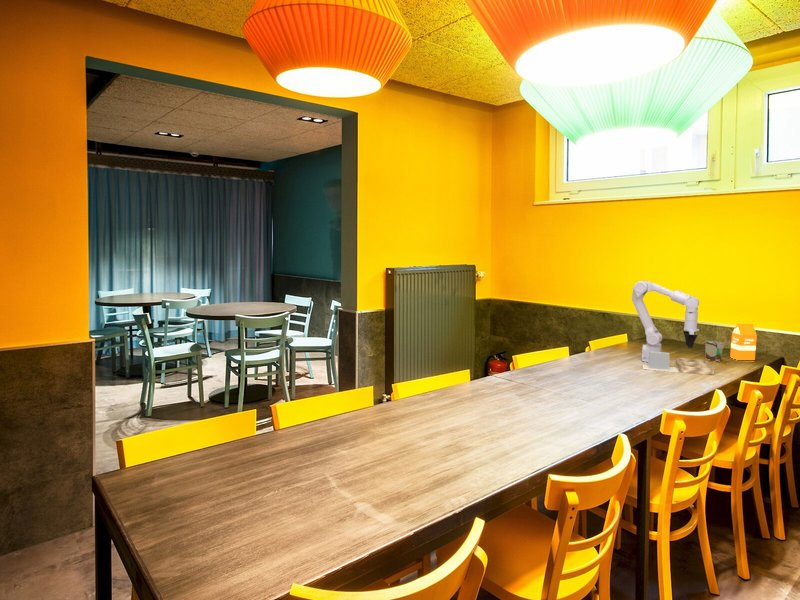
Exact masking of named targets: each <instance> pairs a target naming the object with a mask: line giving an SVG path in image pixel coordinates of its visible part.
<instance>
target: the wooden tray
mask: <svg viewBox="0 0 800 600" xmlns="http://www.w3.org/2000/svg"><path fill="white" fill-rule="evenodd" d="M689 362H700V363H701V367H702V368H700V367H688V366H689ZM676 364H677V365H676ZM675 365H676V366H678V367H677V369H678V368H679V369H678V371H679V372H680V373H682V372H684V373H685V374H694V373H695V374H696V375H705V374H714V373H715V369H714V367H713V366H712V365H711V364H710V362H709V360H707V359H700V358H699V359H695V358H685V357H675ZM714 375H715V374H714Z"/></svg>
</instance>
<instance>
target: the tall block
mask: <svg viewBox="0 0 800 600" xmlns="http://www.w3.org/2000/svg"><path fill="white" fill-rule="evenodd" d="M670 355H671V354H670V352H664V351H661V352H652V351H649V362H648V364H647V365H648V367H649V368H656V369H667V370H669V367H670Z"/></svg>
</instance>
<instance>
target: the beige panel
mask: <svg viewBox="0 0 800 600" xmlns="http://www.w3.org/2000/svg"><path fill="white" fill-rule="evenodd" d="M641 365H642V370H643V369H647V370H646V371H653V370H656V372H664V371H665V372H666V373H675V372H676V373H678V374H679V372H680V370H679V369H678V367H672V366H669V370H667V369H656V368H649V367H648V365H649V364H641ZM665 372H664V373H665Z"/></svg>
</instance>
